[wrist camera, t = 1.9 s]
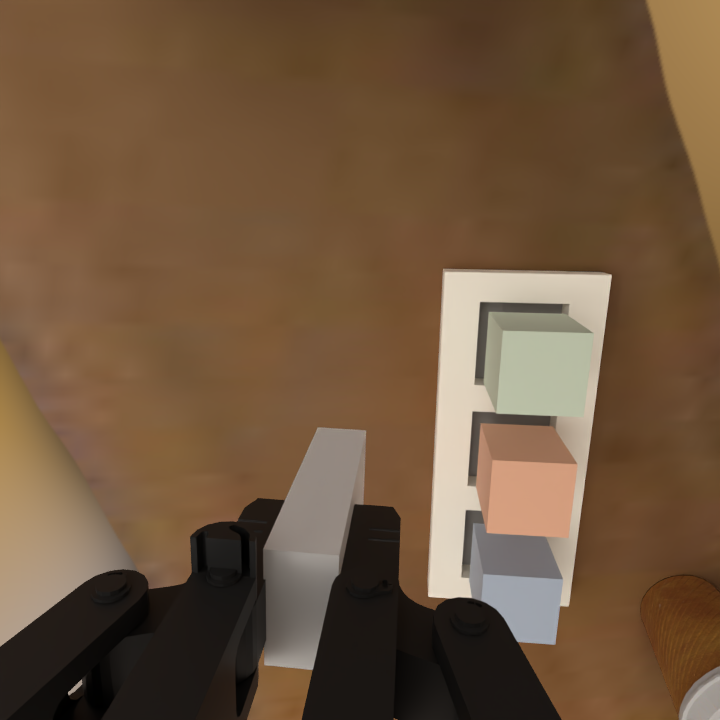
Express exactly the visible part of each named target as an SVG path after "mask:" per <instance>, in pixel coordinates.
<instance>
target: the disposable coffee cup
mask: <svg viewBox="0 0 720 720" xmlns="http://www.w3.org/2000/svg"><path fill="white" fill-rule="evenodd" d="M640 613H641V618H642V621H643V623H644V626H645V628H646V631H647V634H648V637H649V639H650V642H651V645H652V647H653V650H654V652H655V655H656V658H657V660H658V663H659V666H660V669H661V671H662V674H663V677H664V679H665V682H666V685H667V688H668V690H669V693H670V696H671V698H672V701H673V704H674V706H675V709H676V711H677V714H678V717H679V720H720V592H719V591H718V590H716V588H715V587H714V586H713V585H711V584H710V583H709V582H707V581H705V580H703V579H701V578H698V577H694V576H674V577H670V578H667V579H664V580H662V581H660V582H658V583H657V584H655V585H654V586H653V587H651V588H650V589H649V591H648V592H647V593H646V594H645V596H644V598H643V600H642V603H641V610H640Z"/></svg>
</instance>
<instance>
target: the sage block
mask: <svg viewBox="0 0 720 720" xmlns="http://www.w3.org/2000/svg"><path fill="white" fill-rule="evenodd" d="M593 338H594V333H593V332H591V331H590V330H588V329H587V328H586V327H584V326H583V325H581V324H580V323H578V322H577V321H575V320H574V319H572V318H571V317H569V316H568V315H566V314H554V313H515V312H489V315H488V329H487V343H486V357H485V370H484V385H485V388H486V390H487V392H488V395H489V397H490V400H491V402H492V404H493V407H494V409H495V412H496V414H519V415H543V416H567V417H584V410H585V402H586V394H587V386H588V378H589V370H590V362H591V354H592V346H593Z"/></svg>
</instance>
